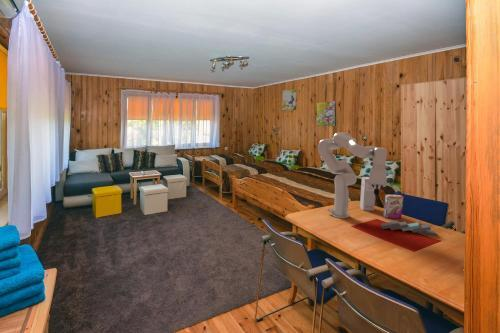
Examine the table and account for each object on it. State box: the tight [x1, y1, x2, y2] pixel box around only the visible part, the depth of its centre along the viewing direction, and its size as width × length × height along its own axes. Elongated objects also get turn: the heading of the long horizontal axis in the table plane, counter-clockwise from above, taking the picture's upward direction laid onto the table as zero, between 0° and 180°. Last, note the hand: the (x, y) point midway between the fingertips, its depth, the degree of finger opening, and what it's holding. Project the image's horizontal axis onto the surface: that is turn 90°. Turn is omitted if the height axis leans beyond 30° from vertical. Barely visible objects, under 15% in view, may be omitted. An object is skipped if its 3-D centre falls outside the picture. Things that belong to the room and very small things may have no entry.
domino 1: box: [380, 220, 399, 230], centre depth 185 cm, size 2×5×10 cm
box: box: [359, 176, 376, 212], centre depth 225 cm, size 8×8×25 cm
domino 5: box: [416, 229, 438, 236], centre depth 179 cm, size 2×5×10 cm
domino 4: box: [411, 223, 432, 234], centre depth 179 cm, size 2×5×10 cm
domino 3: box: [401, 222, 420, 232], centre depth 181 cm, size 2×5×10 cm
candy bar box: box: [382, 194, 404, 219], centre depth 206 cm, size 11×5×16 cm, turn 84°
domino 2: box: [389, 221, 408, 231], centre depth 184 cm, size 2×5×10 cm
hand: (376, 194), depth 185 cm, fingers closed
